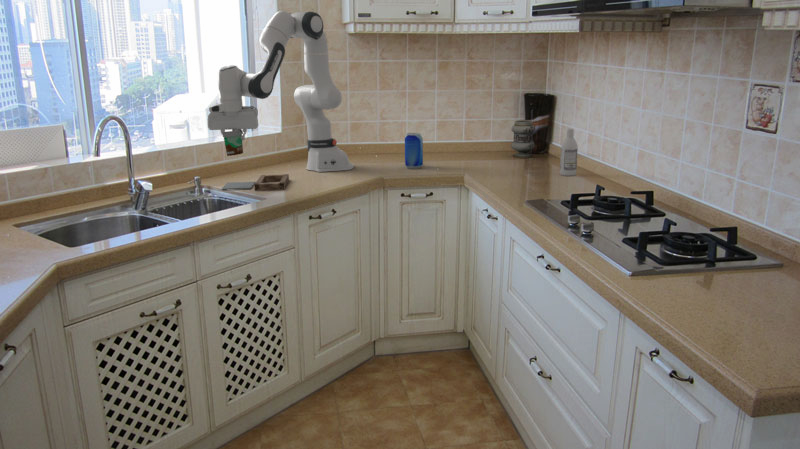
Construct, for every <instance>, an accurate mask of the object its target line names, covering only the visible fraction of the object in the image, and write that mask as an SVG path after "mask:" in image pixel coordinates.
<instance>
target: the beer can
mask: <svg viewBox="0 0 800 449" xmlns="http://www.w3.org/2000/svg"><path fill="white" fill-rule="evenodd" d="M423 142H424V140H423V137H422V134H421V132H408V133H407V132H406V136H405V137H404V165H405V167H406V169H410V170H411V169H413V170H416V169H422V166H423V165H424V145H423V144H424V143H423Z"/></svg>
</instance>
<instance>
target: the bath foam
mask: <svg viewBox="0 0 800 449" xmlns="http://www.w3.org/2000/svg"><path fill="white" fill-rule="evenodd" d="M574 131H575V129H574V128H567V129H566V137H565V139H564V140H563V141H562V143H561V147H560V160H559V162H560V164H559V174H560V175H561V176H564V177H565V176H567V177H570V176H571V177H572V176H573V177H574V176H576V175H577V164H578V152H579V150H578V149H579V148H578V143H577V140H576V139H575V138H574V134H575V132H574Z"/></svg>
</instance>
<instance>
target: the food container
mask: <svg viewBox="0 0 800 449" xmlns="http://www.w3.org/2000/svg"><path fill="white" fill-rule="evenodd" d="M243 134H244V132H243V129H232V130H229V131H228V130H227V131H225V132H223V135H222V138H223V141H224V146H225V151H226V156H227V157H229V156H238V155H242V154H243V153H244V147H243V145H244V144H243V140H241V136H242V135H243Z"/></svg>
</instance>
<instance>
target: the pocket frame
mask: <svg viewBox="0 0 800 449" xmlns="http://www.w3.org/2000/svg"><path fill="white" fill-rule="evenodd" d="M289 181H290V175H289V174H288V173H287V174H282V173H281V174H261V175H260V176H259V177H258V178H257V180H256V181H255V184H254V191H269V190H270V191H271V190H273V191H274V190H286V187H287V185H288V182H289Z"/></svg>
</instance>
